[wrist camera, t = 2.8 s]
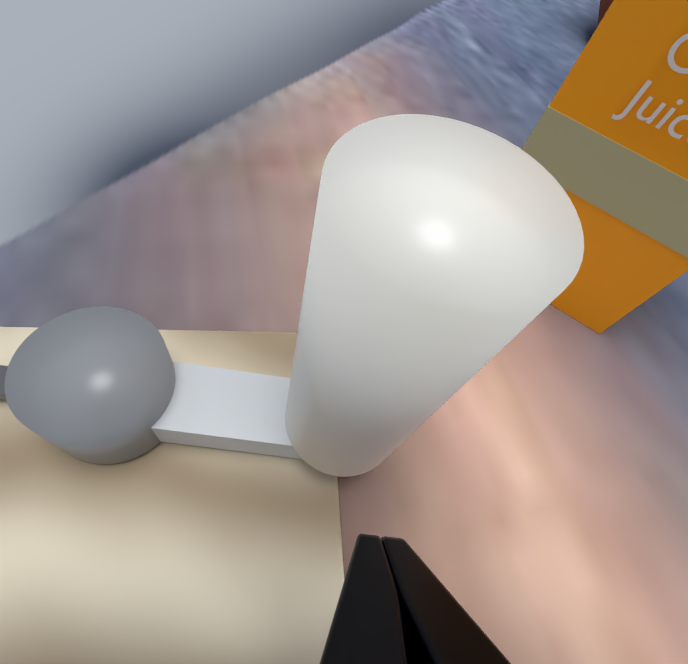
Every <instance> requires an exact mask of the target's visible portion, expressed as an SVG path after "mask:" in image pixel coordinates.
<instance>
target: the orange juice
mask: <svg viewBox="0 0 688 664" xmlns="http://www.w3.org/2000/svg"><path fill="white" fill-rule="evenodd" d="M521 150H523V151H524V152H526V153H527V154H528V155H530V156H531V157H532V158H534V159H535V160H536V161H537V162H538V163H540V164H541V165H542V166H543V167H544V168H545V169H546V170H547V171H548V172H549V173H550V174H551V175H552V176H553V177H554V178H555V179H556V181H557V182H558V183H559V184H560V185H561V186H562V188H563V189H564V191H565V192H566V194H567V195H568V197H569V198H570V200H571V202H572V204H573V205H574V207H575V209H576V211H577V214H578V217H579V219H580V222H581V226H582V230H583V235H584V252H583V260H582V263H581V265H580V268H579V271H578V273H577V274H576V276H575V278H574V279H573V281H572V282H571V283H570V284H569V285H568V287H567V288H566V289H565V290H564V291H563V292H562V293H561V294H560V295H559V296H557V297H556V298H555V299H554V300H553V301H552V302H551V303H550V304H551V305H553V306H555V307H556V308H558V309H559V310H561V311H563V312H564V313H566V314H568V315H569V316H571V317H572V318H574V319H576V320H577V321H579V322H581V323H582V324H584V325H585V326H587V327H589V328H590V329H592V330H593V331H595V332H597V333H598V334H600V333H601V332H603V331H604V330H605V329H607V328H608V327H610V326H611V325H612V324H614V323H615V322H617V321H618V320H619V319H621V318H622V317H624V316H625V315H626V314H628V313H629V312H631V311H632V310H633V309H635V308H636V307H637V306H639V305H640V304H642V303H643V302H644V301H646V300H647V299H649V298H650V297H651V296H653V295H654V294H656V293H657V292H658V291H660V290H661V289H663V288H664V287H665V286H667V285H668V284H670V283H671V282H672V281H674V280H675V279H676V278H678V277H679V276H681V275H682V274H683V273H685V272H686V271H688V0H614V1H613V2H612V4H611V5H610V7H609V8H608V11H606V13H605V16H604V17H603V19H602V20H601V21H600V23H599V25H598V27H597V29H596V30H595V32H594V34H593V35H592V37H591V38H590V40H589V42H588V43H587V45H586V47H585V48H584V50H583V51H582V53H581V55H580V56H579V58H578V60H577V61H576V63H575V65H574V66H573V68H572V69H571V71H570V73H569V74H568V76H567V78H566V79H565V81H564V82H563V84H562V86H561V87H560V89H559V91H558V92H557V94H556V96H555V97H554V99H553V100H552V102H551V103H550V104H549V105H548V106H547V108H546V110H545V111H544V113H543V115H542V116H541V118H540V120H539V121H538V123H537V124H536V126H535V128H534V129H533V131H532V133H531V134H530V136H529V138H528V139H527V141H526V142H525V144H524V146H523V147H522V149H521Z"/></svg>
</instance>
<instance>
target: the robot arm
mask: <svg viewBox="0 0 688 664" xmlns="http://www.w3.org/2000/svg"><path fill="white" fill-rule="evenodd" d="M319 664H511V663H510V662H509V661H508V660H507V659H506V658H505V656H504V655H503V654H502V653H501V652H500V651H499V649H498V648H497V647H496V646H495V645H494V644H493V642H492V641H491V640H490V639H489V638H488V637H487V635H486V634H485V633H484V632H483V631H482V630H481V628H480V627H479V626H478V625H477V624H476V623H475V621H474V620H473V619H472V618H471V617H470V616H469V614H468V613H467V612H466V611H465V610H464V609H463V608H462V606H461V605H460V604H459V603H458V602H457V601H456V599H455V598H454V597H453V596H452V595H451V594H450V592H449V591H448V590H447V589H446V588H445V587H444V585H443V584H442V583H441V582H440V581H439V580H438V578H437V577H436V576H435V575H434V574H433V573H432V571H431V570H430V569H429V568H428V567H427V566H426V564H425V563H424V562H423V561H422V560H421V559H420V557H419V556H418V555H417V554H416V553H415V552H414V550H413V549H412V548H411V547H410V546H409V545H408V543H407V542H406V541H405V540H403V539H401V538H394V537H382V538H380V537H379V536H376V535H366V534H360V535H358V537H357V540H356V543H355V547H354V550H353V553H352V557H351V560H350V563H349V567H348V570H347V573H346V577H345V580H344V583H343V587H342V590H341V593H340V597H339V600H338V603H337V607H336V610H335V613H334V617H333V620H332V623H331V627H330V630H329V633H328V637H327V640H326V643H325V647H324V650H323V653H322V657H321V660H320V663H319Z"/></svg>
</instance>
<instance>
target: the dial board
mask: <svg viewBox="0 0 688 664" xmlns="http://www.w3.org/2000/svg"><path fill="white" fill-rule="evenodd" d="M36 329H37V328H28V327H0V365H4V366H8V365H9V363H10V361H11V359H12V357H13V355H14V353H15V352H16V350H17V349H18V347H19V346H20V345H21V344H22V342H23V341H24V340H25V339H26V338H27V337H28V336H29V335H30V334H31V333H32V332H34V331H35V330H36ZM158 331H159V332H160V334H161V336H162V337H163V339H164V342H165V344H166V347H167V349H168V352H169V354H170V357H171V359H172V361H174V362H181V363H188V364H195V365H202V366H209V367H216V368H223V369H230V370H237V371H244V372H251V373H258V374H265V375H272V376H278V377H285V378H291V372H292V366H293V359H294V352H295V346H296V339H297V333H298V332H250V331H195V330H158ZM343 583H344V569H343V554H342V539H341V524H340V509H339V494H338V479H337V476H333V475H329V474H326V473H323V472H320V471H318V470H316V469H314V468H313V467H311V466H310V465H309V464H307V463H306V462H305V461H304V460H303V459H297V458H289V457H281V456H273V455H265V454H257V453H249V452H241V451H233V450H225V449H217V448H209V447H201V446H192V445H184V444H176V443H168V442H160V443H159V444H158V445H156V446H155V447H154V448H152V449H151V450H149V451H148V452H146V453H144V454H143V455H141V456H138V457H136V458H134V459H131V460H128V461H125V462H121V463H115V464H93V463H87V462H84V461H81V460H78V459H76V458H74V457H72V456H71V455H69V454H67V453H66V452H64V451H63V450H61V449H60V448H58V447H56V446H55V445H53V444H52V443H50V442H49V441H47V440H45V439H44V438H42V437H41V436H39V435H38V434H36V433H35V432H33V431H31V430H30V429H28V428H27V427H26V426H24V425H23V424H22V423H21V422H20V421H19V420H18V419H17V418H16V417H15V416H14V414H13V413H12V411H11V410H10V408H9V406H8V403H7V401H6V400H2V399H0V664H319V663H320V660H321V657H322V653H323V650H324V647H325V643H326V640H327V637H328V633H329V630H330V627H331V623H332V620H333V617H334V613H335V610H336V607H337V603H338V600H339V597H340V593H341V590H342V587H343Z"/></svg>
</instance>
